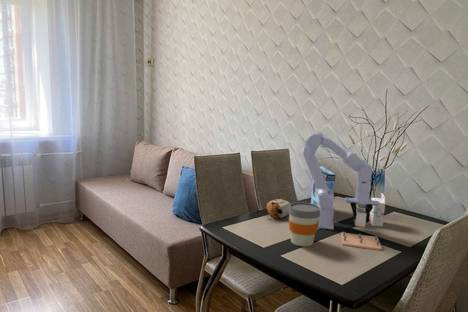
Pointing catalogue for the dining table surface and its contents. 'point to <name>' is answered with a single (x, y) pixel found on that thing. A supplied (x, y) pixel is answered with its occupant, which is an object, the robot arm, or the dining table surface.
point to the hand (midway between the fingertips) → (359, 219)
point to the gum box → (329, 181)
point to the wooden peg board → (360, 241)
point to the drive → (360, 217)
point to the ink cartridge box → (378, 212)
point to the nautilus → (278, 208)
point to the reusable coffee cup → (303, 223)
